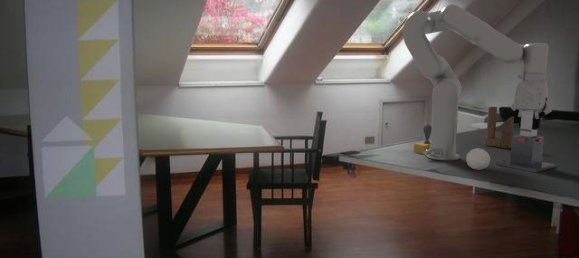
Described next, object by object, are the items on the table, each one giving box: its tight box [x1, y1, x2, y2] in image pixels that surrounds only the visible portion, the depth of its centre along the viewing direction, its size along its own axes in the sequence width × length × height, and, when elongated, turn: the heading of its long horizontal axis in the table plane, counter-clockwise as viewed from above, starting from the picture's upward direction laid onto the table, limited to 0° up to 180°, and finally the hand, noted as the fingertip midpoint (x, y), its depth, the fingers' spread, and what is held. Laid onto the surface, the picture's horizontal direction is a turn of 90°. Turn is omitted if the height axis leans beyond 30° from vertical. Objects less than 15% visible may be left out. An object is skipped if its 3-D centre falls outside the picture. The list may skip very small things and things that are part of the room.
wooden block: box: [483, 105, 515, 149], centre depth 189 cm, size 4×11×18 cm, turn 43°
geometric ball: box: [465, 147, 491, 171], centre depth 149 cm, size 8×8×8 cm
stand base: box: [496, 134, 556, 173], centre depth 154 cm, size 14×14×11 cm
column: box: [519, 110, 539, 138], centre depth 153 cm, size 5×4×18 cm
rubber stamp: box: [413, 124, 432, 155], centre depth 179 cm, size 10×6×12 cm, turn 123°
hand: (528, 128), depth 152 cm, fingers closed on column, 4 cm apart
